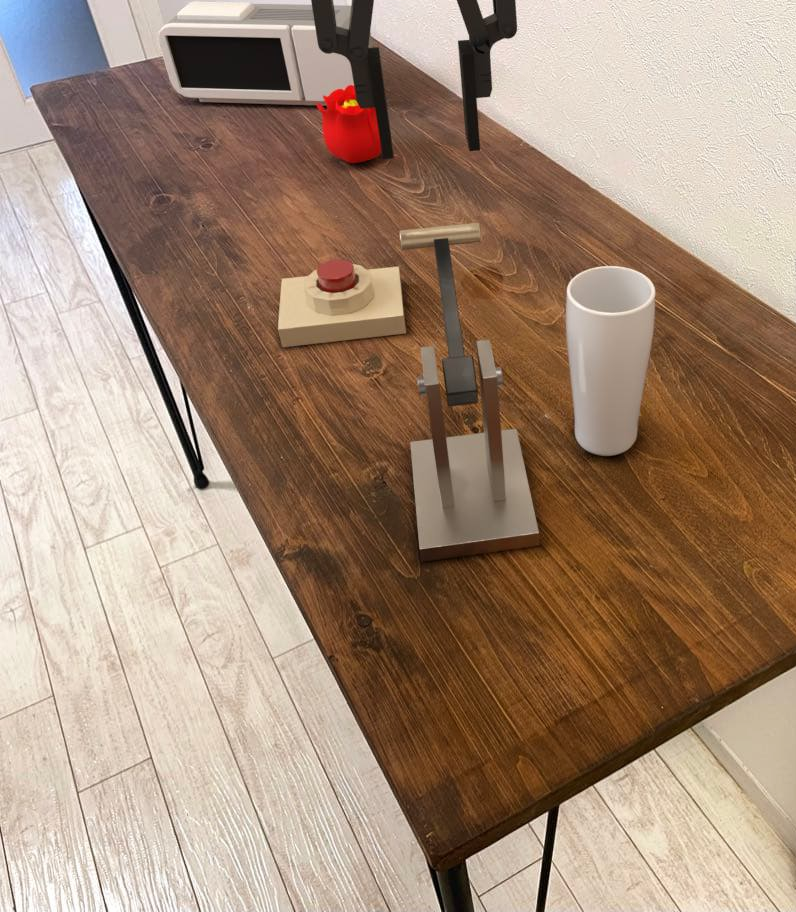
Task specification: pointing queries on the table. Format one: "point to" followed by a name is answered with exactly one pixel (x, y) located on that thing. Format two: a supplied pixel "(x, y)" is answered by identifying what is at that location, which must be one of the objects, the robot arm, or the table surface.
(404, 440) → the table surface
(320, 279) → the button
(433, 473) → the bracket
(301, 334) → the button block
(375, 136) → the flower
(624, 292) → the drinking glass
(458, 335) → the lever
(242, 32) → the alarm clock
